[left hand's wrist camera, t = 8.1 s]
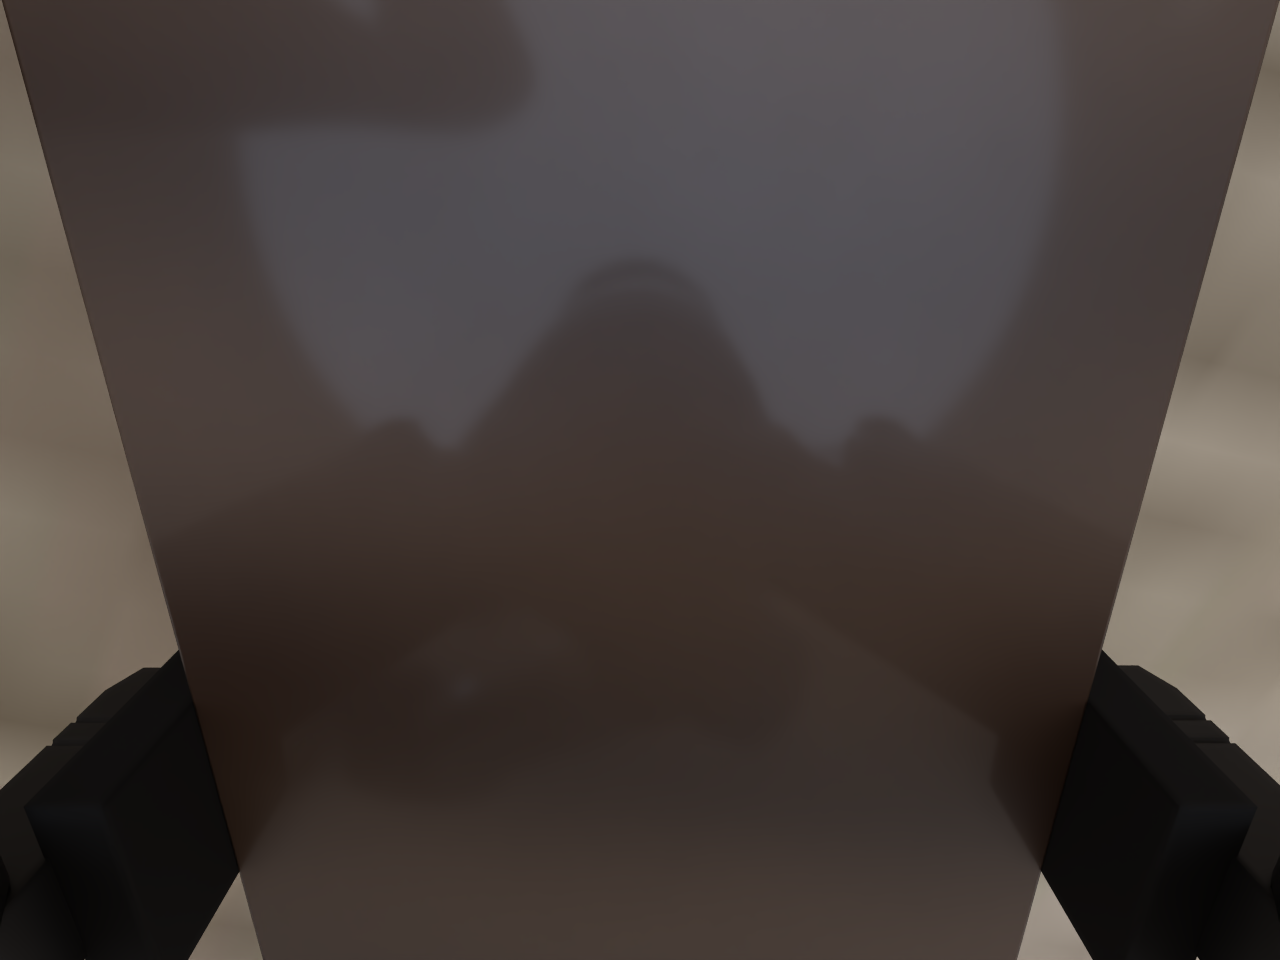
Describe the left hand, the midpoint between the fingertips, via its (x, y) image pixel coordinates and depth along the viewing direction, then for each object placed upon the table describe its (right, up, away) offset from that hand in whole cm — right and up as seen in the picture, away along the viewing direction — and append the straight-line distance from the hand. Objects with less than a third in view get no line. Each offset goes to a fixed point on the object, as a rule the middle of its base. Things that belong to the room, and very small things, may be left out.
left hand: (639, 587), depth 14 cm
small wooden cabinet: (0, +9, +4) cm, 10 cm away
